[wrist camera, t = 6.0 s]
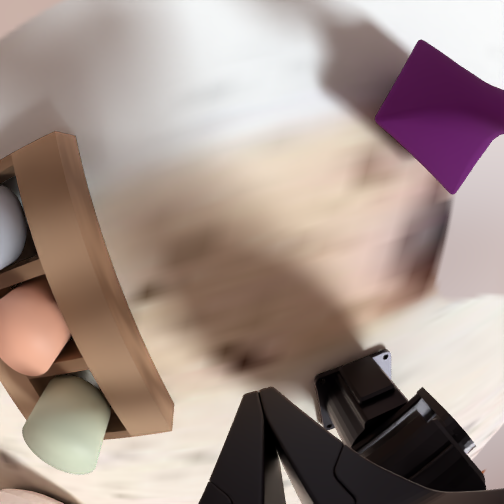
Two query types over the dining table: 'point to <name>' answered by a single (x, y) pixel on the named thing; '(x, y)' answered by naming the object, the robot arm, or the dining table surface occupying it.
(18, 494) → the bowl
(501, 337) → the dining table surface
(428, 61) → the perfume bottle
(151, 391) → the wooden compartment tray
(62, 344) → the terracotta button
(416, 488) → the robot arm
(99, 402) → the pale green rounded cube
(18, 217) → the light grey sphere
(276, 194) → the dining table surface
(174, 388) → the dining table surface
